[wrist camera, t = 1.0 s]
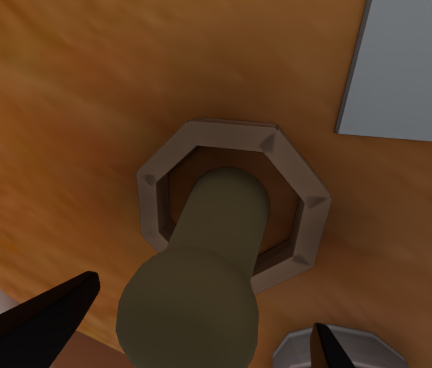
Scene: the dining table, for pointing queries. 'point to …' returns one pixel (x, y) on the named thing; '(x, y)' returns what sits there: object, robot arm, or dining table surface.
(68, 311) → the robot arm
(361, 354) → the can
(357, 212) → the dining table surface
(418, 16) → the slate mat
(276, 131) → the walnut holder
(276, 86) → the dining table surface
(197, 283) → the cork
